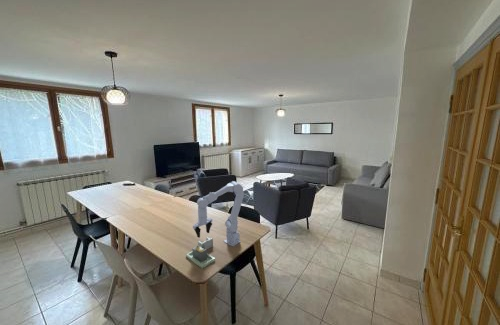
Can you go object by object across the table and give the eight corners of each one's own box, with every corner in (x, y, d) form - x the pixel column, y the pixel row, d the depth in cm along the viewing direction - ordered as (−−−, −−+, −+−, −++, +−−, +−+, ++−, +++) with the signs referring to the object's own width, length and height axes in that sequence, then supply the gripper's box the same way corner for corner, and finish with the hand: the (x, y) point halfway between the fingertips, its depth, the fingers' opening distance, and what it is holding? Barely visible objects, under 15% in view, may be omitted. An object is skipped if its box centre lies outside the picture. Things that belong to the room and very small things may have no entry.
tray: (215, 260, 123) (214, 258, 123) (202, 268, 116) (201, 266, 116) (198, 250, 134) (198, 247, 134) (186, 256, 127) (185, 254, 127)
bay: (212, 246, 139) (212, 238, 138) (203, 251, 133) (203, 243, 132) (207, 243, 143) (207, 235, 142) (198, 247, 137) (197, 239, 136)
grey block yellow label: (207, 259, 124) (207, 250, 124) (201, 262, 121) (200, 254, 120) (198, 253, 130) (198, 245, 129) (192, 256, 127) (192, 248, 126)
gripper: (207, 211, 141) (208, 228, 143) (189, 217, 130) (190, 237, 132) (214, 213, 137) (214, 232, 139) (196, 220, 126) (196, 240, 128)
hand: (203, 234), depth 135 cm, fingers open, 7 cm apart
